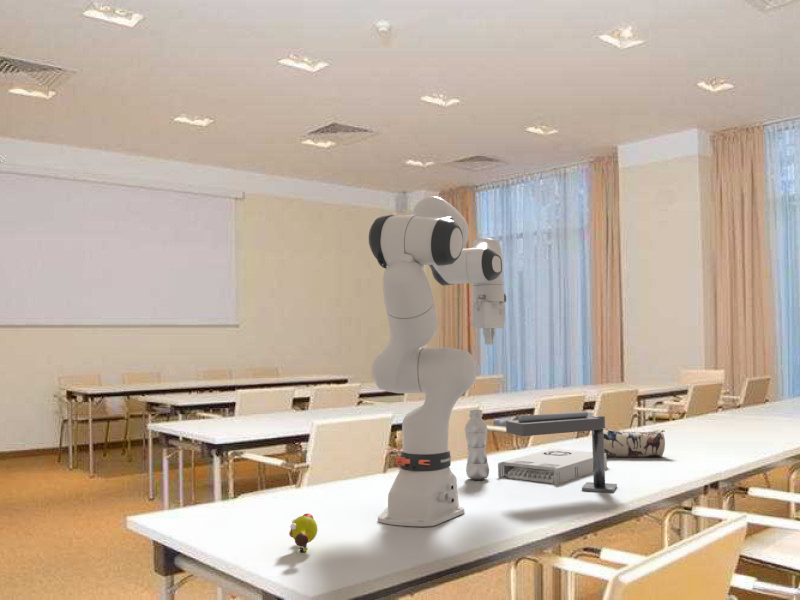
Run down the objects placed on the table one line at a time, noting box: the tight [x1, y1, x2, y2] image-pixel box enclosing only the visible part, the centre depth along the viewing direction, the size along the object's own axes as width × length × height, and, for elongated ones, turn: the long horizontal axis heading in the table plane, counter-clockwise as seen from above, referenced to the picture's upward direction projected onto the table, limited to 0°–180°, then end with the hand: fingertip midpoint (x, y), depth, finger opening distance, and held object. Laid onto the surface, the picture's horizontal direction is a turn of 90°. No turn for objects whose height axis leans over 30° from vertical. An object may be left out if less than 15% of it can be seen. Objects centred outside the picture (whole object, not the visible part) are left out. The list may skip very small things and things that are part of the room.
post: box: [581, 428, 618, 494], centre depth 201 cm, size 8×8×16 cm
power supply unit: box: [497, 448, 608, 485], centre depth 226 cm, size 19×33×5 cm, turn 140°
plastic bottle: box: [464, 409, 490, 481], centre depth 217 cm, size 6×7×20 cm
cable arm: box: [505, 411, 606, 437], centre depth 196 cm, size 28×8×5 cm, turn 113°
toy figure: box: [289, 513, 318, 553], centre depth 148 cm, size 18×6×7 cm, turn 3°
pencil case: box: [602, 427, 666, 458], centre depth 251 cm, size 22×8×10 cm, turn 80°
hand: (489, 344), depth 212 cm, fingers closed
